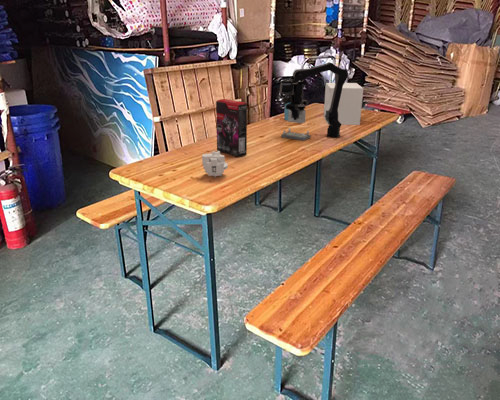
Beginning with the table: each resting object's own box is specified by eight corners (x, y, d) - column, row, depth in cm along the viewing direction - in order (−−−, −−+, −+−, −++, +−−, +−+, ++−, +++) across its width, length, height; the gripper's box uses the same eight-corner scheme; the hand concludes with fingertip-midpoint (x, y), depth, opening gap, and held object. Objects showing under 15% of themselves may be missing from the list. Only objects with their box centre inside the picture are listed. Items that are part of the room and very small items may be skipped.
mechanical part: (228, 171, 205) (228, 147, 200) (226, 180, 193) (226, 155, 189) (204, 171, 205) (203, 146, 200) (201, 180, 194) (200, 154, 189)
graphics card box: (215, 151, 236) (214, 100, 225) (225, 148, 240) (224, 98, 230) (238, 157, 225) (238, 104, 214) (247, 155, 230) (248, 102, 219)
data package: (302, 121, 304) (302, 104, 299) (298, 122, 300) (299, 105, 296) (287, 119, 311) (288, 102, 306) (284, 120, 307) (284, 102, 303)
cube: (323, 117, 319) (325, 82, 310) (353, 117, 318) (356, 83, 309) (327, 125, 296) (330, 88, 287) (359, 125, 295) (363, 88, 286)
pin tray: (310, 137, 263) (310, 130, 262) (303, 140, 256) (304, 134, 255) (288, 134, 271) (288, 127, 269) (281, 137, 264) (281, 130, 262)
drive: (305, 122, 260) (305, 110, 257) (301, 123, 256) (302, 111, 253) (291, 120, 264) (291, 108, 261) (288, 121, 260) (288, 109, 258)
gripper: (292, 89, 264) (291, 115, 271) (277, 93, 250) (277, 120, 256) (309, 90, 259) (308, 117, 265) (295, 95, 244) (294, 122, 250)
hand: (296, 119), depth 259 cm, fingers closed on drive, 5 cm apart
